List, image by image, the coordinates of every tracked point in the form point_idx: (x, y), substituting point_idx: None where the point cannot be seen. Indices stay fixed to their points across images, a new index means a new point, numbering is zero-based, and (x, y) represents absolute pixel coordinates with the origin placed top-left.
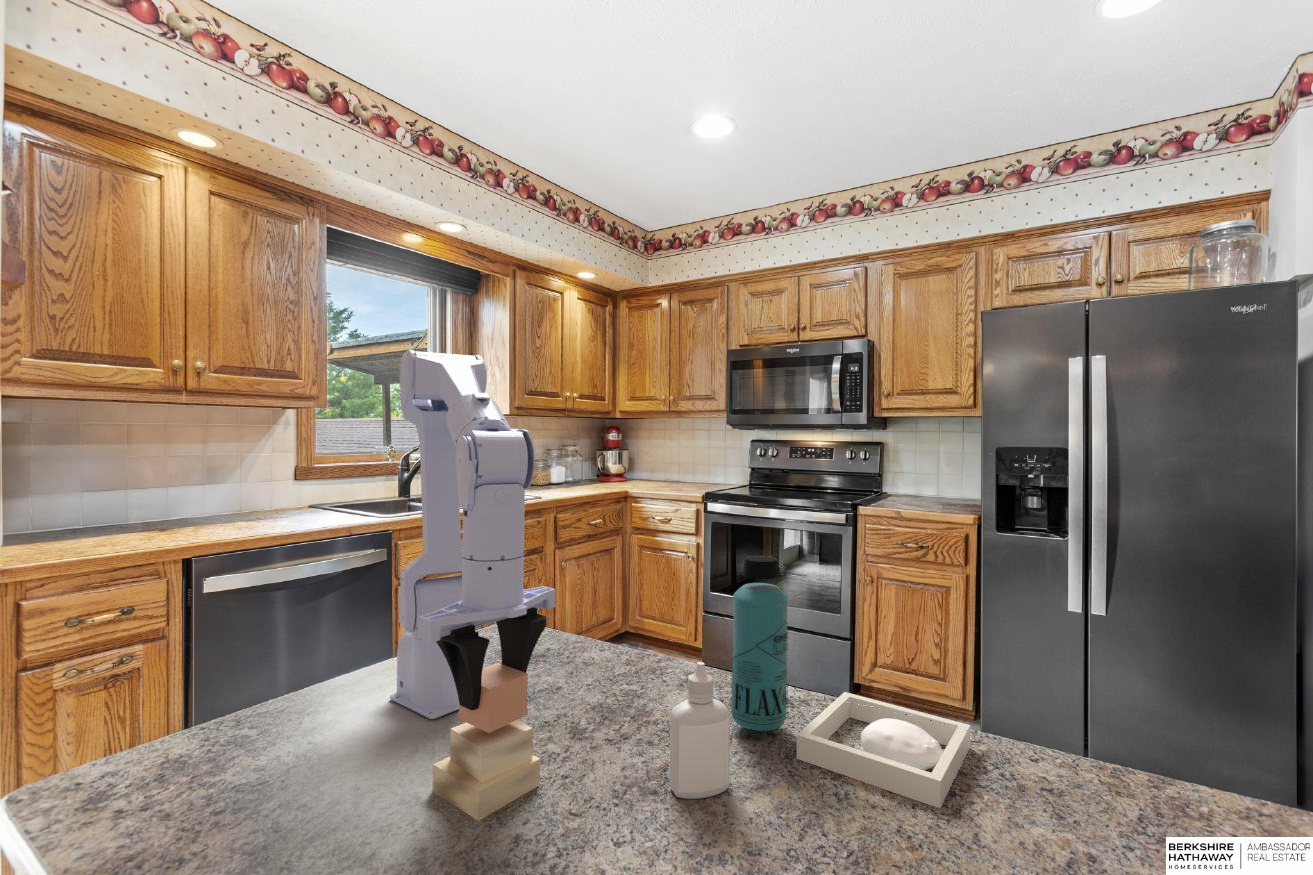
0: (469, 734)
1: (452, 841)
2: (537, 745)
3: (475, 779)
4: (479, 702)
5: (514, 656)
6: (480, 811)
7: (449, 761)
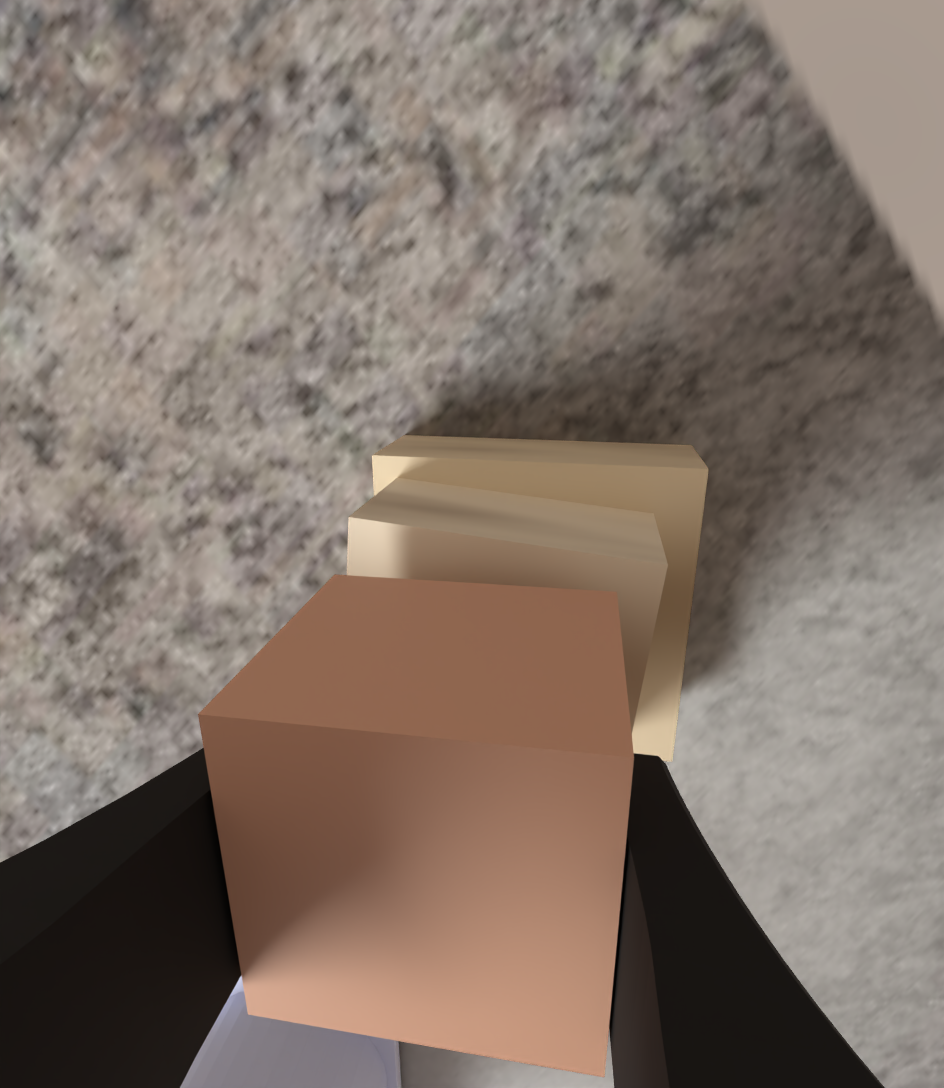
0: None
1: (833, 422)
2: (248, 629)
3: None
4: None
5: (150, 955)
6: (685, 451)
7: None
